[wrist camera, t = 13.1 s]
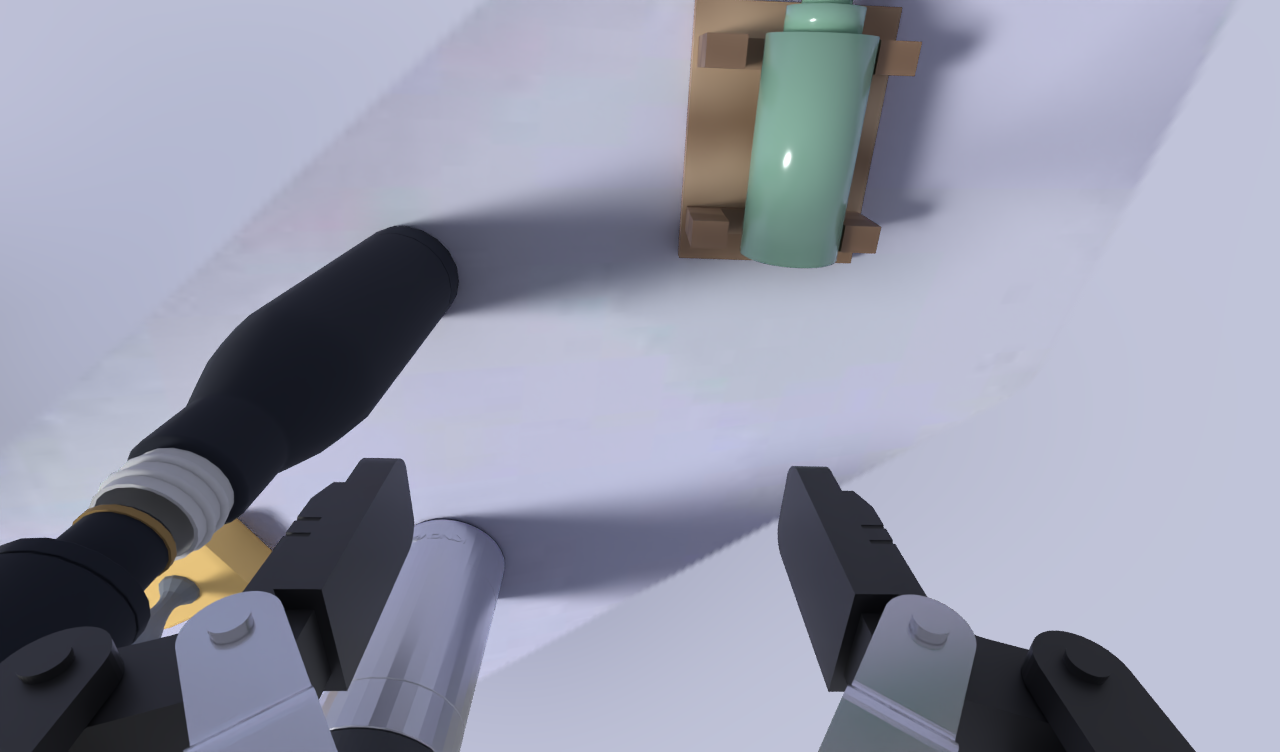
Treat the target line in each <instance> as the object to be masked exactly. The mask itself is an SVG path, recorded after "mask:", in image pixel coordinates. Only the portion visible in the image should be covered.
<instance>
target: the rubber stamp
mask: <svg viewBox="0 0 1280 752" xmlns="http://www.w3.org/2000/svg"><path fill="white" fill-rule="evenodd" d="M271 552H272V550H270V549H269V548H268V547H267V546H266V545H265V544H264V543H263V542H262V541H261V540H260V539H259V538H258V537H257V536H256V535H254V534H253V533H252V532H251V531H250V530H249V529H248V528H247V527H246V526H245V525H244V524H243V523H242V522H241V521H240V520H238V519H237V518H236V519H235V520H234V521H232V522H231V523H228V524H224V525H223V526H222V527H221V528H220V529H219V530H217V531H216V532H215V533H214V534H213V536H212V538H211V540H210V541H209V542H208V543H207V544H205V545H204V546H203V547H202V548H200V549H199V550H196V551H193V552H191V553H190V554H189V555H187V556H186V557H185V558H182V559H179V560H176V561H174V562H173V564H172V565H171V566H170V567H169V569H168V570H166V571H165V572H164V573H163V574H161V575H160V576H158V577H157V578H156V579H155V580H154V581H153V582H152V583H151V584H150V585H149V586H148V587H147V588H146V589H145V591H144V592H145V594H146V596H147V598H148V600H149V605H150V614H151V617H150V619H149V621H148V624H147V626H146V628H145V630H144V632H143V633H142V634H141V635H140V636H139V637H138V638H137V640H136V641H135V642H134V643H133V644H137V643H142V642H146V641H150V640H155V639H159V638H161V636H162V633H163V629H166V628H171V627H173V626H175V625H177V624H179V623H182V622H184V621H186V620H188V619H190V618H191V617H193V616H194V615H195V614H196V613H197V612H199V611H200V610H202V609H203V608H205V607H206V606H208V605H210V604H211V603H213V602H215V601H217V600H219V599H222V598H224V597H227V596H230V595H233V594H237V593H241V592H243V590H244V589H245V588H246V586H247V585H248V584H249V582H250V581H251V579H252V578H253V577H254V575H255V574H256V573H257V571H258V570H259V569H260V567H261V566H262V564H263V563H264V562H265V560H266V559H267V558H268V556H269V555H270V554H271ZM133 644H131V645H133Z"/></svg>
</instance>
